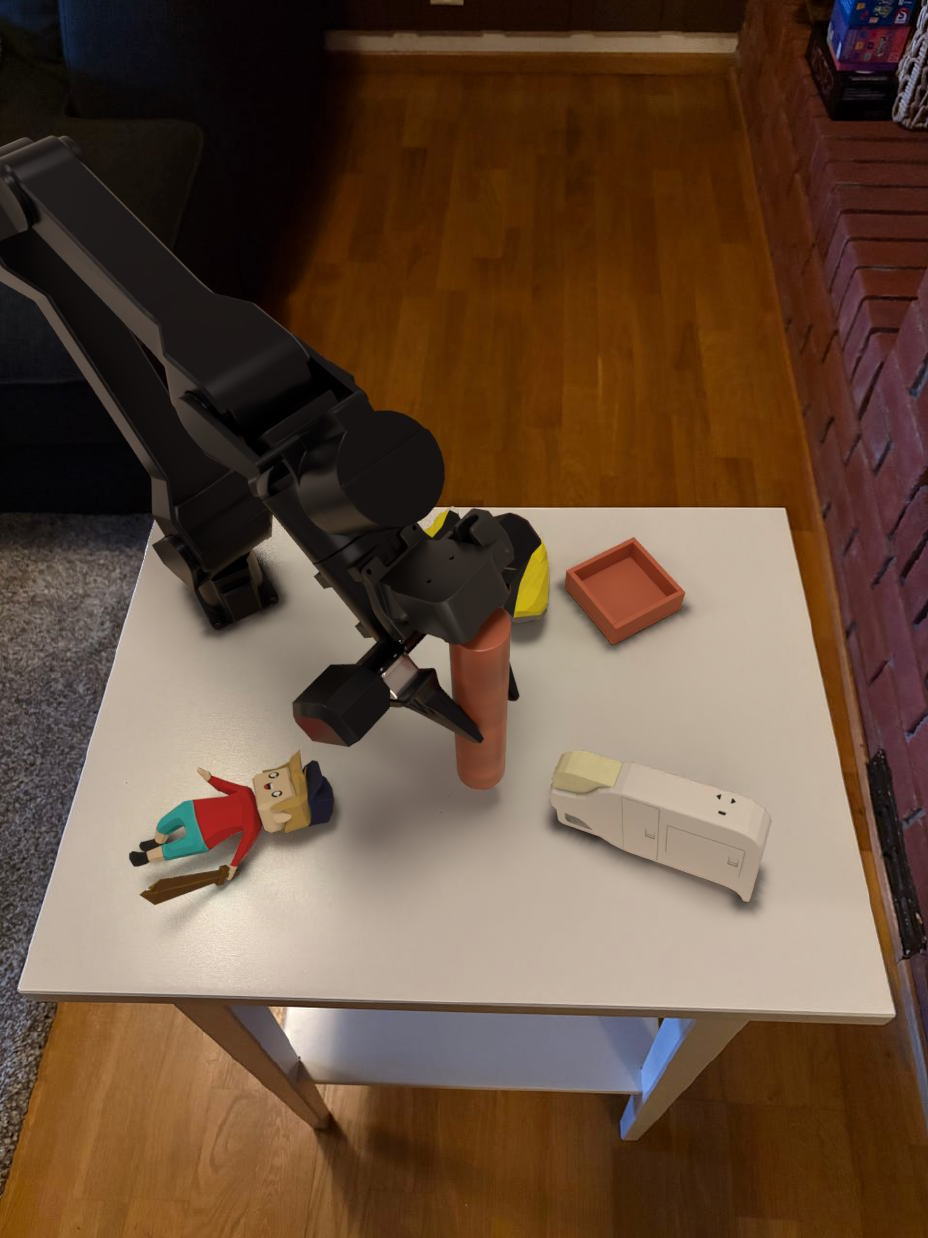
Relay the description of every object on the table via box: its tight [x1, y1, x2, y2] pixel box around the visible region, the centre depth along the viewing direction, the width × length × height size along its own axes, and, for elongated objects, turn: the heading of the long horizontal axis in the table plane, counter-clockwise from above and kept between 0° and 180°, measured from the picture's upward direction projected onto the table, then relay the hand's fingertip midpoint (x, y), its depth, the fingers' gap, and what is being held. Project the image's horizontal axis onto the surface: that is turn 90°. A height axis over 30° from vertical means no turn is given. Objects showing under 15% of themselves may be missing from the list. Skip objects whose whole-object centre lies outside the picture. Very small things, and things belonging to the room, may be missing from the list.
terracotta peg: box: [448, 607, 512, 791], centre depth 57 cm, size 4×4×19 cm
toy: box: [128, 749, 335, 906], centre depth 64 cm, size 9×6×15 cm
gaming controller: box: [423, 505, 550, 624], centre depth 78 cm, size 15×6×10 cm
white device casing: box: [548, 750, 772, 903], centre depth 62 cm, size 11×3×15 cm
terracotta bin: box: [564, 536, 686, 646], centre depth 78 cm, size 8×8×2 cm
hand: (496, 720), depth 57 cm, fingers closed on terracotta peg, 3 cm apart
